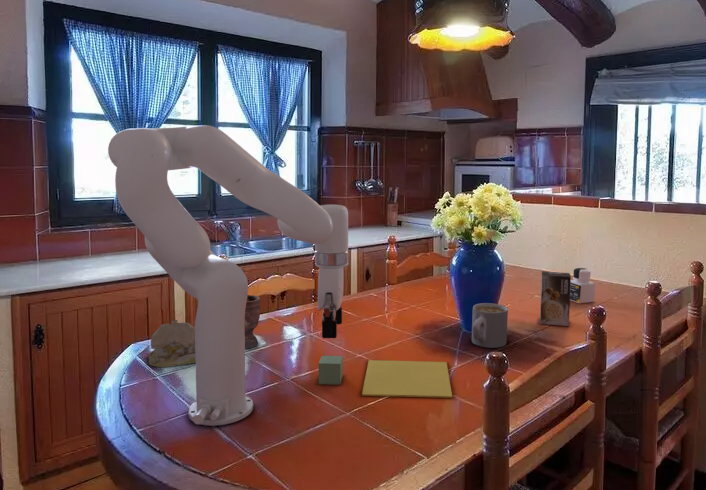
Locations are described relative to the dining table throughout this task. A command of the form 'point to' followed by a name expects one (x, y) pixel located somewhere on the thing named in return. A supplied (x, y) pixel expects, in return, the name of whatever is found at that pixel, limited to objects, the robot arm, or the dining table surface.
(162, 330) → the ceramic model
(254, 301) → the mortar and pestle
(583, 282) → the medicine bottle
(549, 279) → the coffee box
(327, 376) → the toy block
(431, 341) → the dining table surface
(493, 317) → the coffee mug
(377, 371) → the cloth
